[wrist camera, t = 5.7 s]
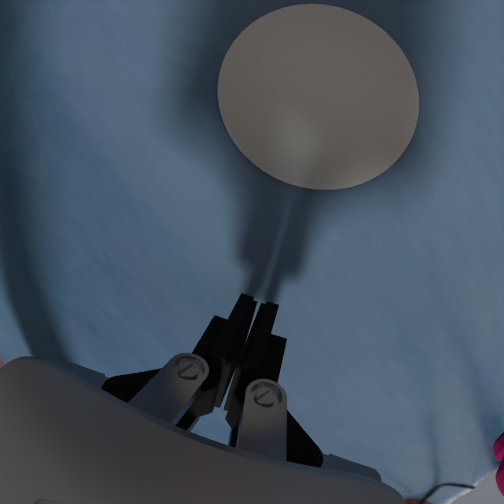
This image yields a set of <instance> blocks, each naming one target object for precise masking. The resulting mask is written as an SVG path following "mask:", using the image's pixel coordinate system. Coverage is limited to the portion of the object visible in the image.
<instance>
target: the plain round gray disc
mask: <svg viewBox="0 0 504 504" xmlns="http://www.w3.org/2000/svg"><path fill="white" fill-rule="evenodd" d="M218 102H219V109H220V113H221V116H222V120H223V122H224V125H225V127H226V129H227V131H228V133H229V135H230V137H231V138H232V140H233V142H234V143H235V145H236V146H237V147H238V148H239V150H240V151H241V152H242V153H243V154H244V155H245V156H246V157H247V158H248V159H249V160H250V161H251V162H252V163H253V164H254V165H256V166H257V167H258V168H260V169H261V170H262V171H264V172H266V173H267V174H269V175H271V176H272V177H274V178H276V179H279V180H281V181H283V182H285V183H288V184H291V185H295V186H298V187H303V188H308V189H316V190H336V189H343V188H348V187H353V186H356V185H359V184H362V183H365V182H367V181H369V180H371V179H373V178H375V177H377V176H378V175H380V174H381V173H383V172H384V171H386V170H387V169H388V168H389V167H390V166H392V165H393V164H394V163H395V162H396V161H397V160H398V158H399V157H400V156H401V155H402V154H403V152H404V151H405V149H406V148H407V146H408V144H409V143H410V141H411V138H412V136H413V134H414V132H415V128H416V124H417V120H418V113H419V93H418V87H417V82H416V79H415V76H414V72H413V70H412V68H411V65H410V63H409V61H408V59H407V57H406V56H405V54H404V53H403V51H402V50H401V48H400V47H399V46H398V45H397V43H396V42H395V41H394V40H393V39H392V38H391V37H390V36H389V35H388V34H387V33H386V32H385V31H384V30H383V29H382V28H380V27H379V26H378V25H376V24H375V23H373V22H372V21H370V20H369V19H367V18H365V17H363V16H361V15H359V14H357V13H355V12H352V11H350V10H347V9H343V8H340V7H336V6H331V5H324V4H300V5H293V6H288V7H284V8H281V9H278V10H275V11H272V12H270V13H268V14H266V15H264V16H262V17H260V18H259V19H257V20H256V21H254V22H253V23H251V24H250V25H249V26H248V27H247V28H246V29H244V30H243V31H242V32H241V33H240V34H239V36H238V37H237V38H236V39H235V40H234V42H233V43H232V45H231V46H230V48H229V50H228V51H227V53H226V56H225V58H224V60H223V62H222V66H221V69H220V73H219V79H218Z"/></svg>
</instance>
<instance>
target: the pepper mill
mask: <svg viewBox="0 0 504 504" xmlns="http://www.w3.org/2000/svg"><path fill="white" fill-rule="evenodd" d="M493 450H494V454H495V458H496V460H499V461H500V460H501V464H500V466H499V468H498V470H497V473H496V483H497V486H498V489H499V490H500V492H501V494H502V495H503V496H504V433H503V434H502V435H501V436H500V437H499V438H498V440H497V441H496V442H495V444H494V446H493Z"/></svg>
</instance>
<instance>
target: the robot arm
mask: <svg viewBox="0 0 504 504" xmlns="http://www.w3.org/2000/svg"><path fill="white" fill-rule="evenodd" d="M253 298H254V297H252V296H249V295H246V294H243V293H241V295H240V297H239V299H238V301H237V303H236V305H235V306H234V308H233V310H232V312H231V314H230V316H229V318H228V320H227V319H224V318H221V317H219V316H216V315H215V316H214V317H213V319H212V320H211V322H210V324H209V325H208V327H207V329H206V330H205V332H204V334H203V335H202V337H201V339H200V340H199V342H198V344H197V345H196V347H195V349H194V350H193V352H192V354H191V353H181V354H178V355H175V356H174V357H173V358H171V359H170V360H169V362H168V363H167V364H166V365H165V366H164V367H163V368H161V369H155V370H150V371H144V372H138V373H132V374H126V375H119V376H114V377H111V378H108V377H105V374H103V373H100V372H97V371H94V370H91V369H88V368H86V367H83V366H80V365H77V364H75V363H72V362H69V361H67V360H63V359H58V360H54V361H52V362H50V361H47V360H44V359H40V358H36V357H28V356H24V357H19V358H16V359H14V360H12V361H10V362H8V363H7V364H5V365H4V366H3V367H1V368H0V504H405V501H404V499H403V497H402V495H401V494H400V493H399V492H398V491H397V490H395V489H394V488H392V487H391V486H389V485H387V484H385V483H383V482H381V476H380V474H379V473H378V472H377V471H376V470H375V469H373V468H371V467H368V466H364V465H361V464H358V463H355V462H352V461H349V460H346V459H344V458H341V457H338V456H335V455H333V454H329V455H326V454H323V453H322V452H321V450H320V448H319V447H318V446H317V445H316V444H315V443H314V441H313V440H312V439H311V438H310V437H309V436H308V434H307V433H306V432H305V431H304V430H303V428H302V427H301V426H300V425H299V424H298V422H297V421H296V420H295V419H294V418H293V416H292V415H291V414H290V413H289V411H288V410H287V396H286V392H285V390H284V389H283V388H282V387H281V386H280V385H279V384H278V383H277V382H278V378H279V373H280V369H281V364H282V360H283V355H284V351H285V346H286V341H287V339H286V338H283V337H280V336H276V335H273V334H271V331H272V328H273V324H274V321H275V317H276V314H277V310H278V306H279V305H278V304H274V303H271V302H268V301H267V302H266V304H263V303H261V304H260V307H259V310H258V312H257V315H256V317H255V320H254V323H253V325H252V328H251V330H250V333H249V335H248V332H249V329H250V325H251V322H252V319H253V315H254V312H255V308H256V305H257V301H254V300H253ZM247 335H248V338H247ZM246 339H247V341H246ZM245 342H246V343H245ZM244 345H245V346H244ZM236 366H237V367H236ZM235 369H236V370H235ZM234 371H235V373H234ZM233 374H234V377H233V380H232V383H231V386H230V390H229V393H228V396H227V400H226V403H225V406H224V410H227V411H228V413H227V416H226V418H225V419H226V421H227V422H228V424H229V425H230V427H231V431H230V436H229V442H228V445H225V444H222V443H219V442H216V441H213V440H210V439H207V438H205V437H202V436H199V435H197V434H194V433H191V430H192V429H193V427H194V426H195V425H196V423H197V422H198V421H199V418H200V416H203V415H206V414H209V413H210V412H211V413H212V412H213V409H214V407H218V408H220V406H221V403H222V401H223V398H224V396H225V394H226V391H227V389H228V386H229V384H230V381H231V379H232V376H233Z"/></svg>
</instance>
